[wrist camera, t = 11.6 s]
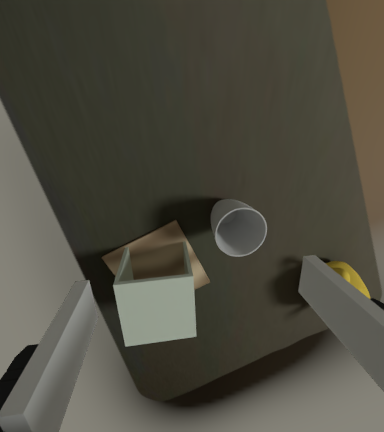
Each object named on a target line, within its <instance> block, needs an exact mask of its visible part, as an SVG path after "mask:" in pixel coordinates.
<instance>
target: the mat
mask: <svg viewBox="0 0 384 432" xmlns="http://www.w3.org/2000/svg"><path fill="white" fill-rule="evenodd" d="M184 241H186V245H187V249H188V254H189V258H190V263H191V268H192V272H193V279H194V290H195V289H197V288H199V287H201V286H203V285H205V284H207V283H209V282H210V280H209V278H208V277H207V275H206V273H205V271H204V269H203V268H202V266H201V264H200V262H199V260H198V259H197V257H196V255H195V253H194V251H193V250H192V248H191V246H190V244H189V242H188V240H187V239H186V237H185V235H184V233H183V231H182V230H181V228H180V226H179V224H178V222H177V221H176V220H174V221H172V222H170V223H168V224H166V225H164V226H162V227H160V228H158V229H156V230H154V231H152V232H150V233H148V234H146V235H144V236H142V237H140V238H138V239H136V240H134V241H132V242H130V243H128V244H126V245H124V246H122V247H120V248H118V249H116V250H114V251H112V252H110V253H108V254H106V255H104V256H102V259H103V260H104V262H105V263H106V264H107V266H108V267H109V268H110V270H111V271H112V272H113V274H114V275H115V276H116V274H117V271H118V268H119V265H120V262H121V259H122V256H123V253H124V249H125V247H129V253H130V260H131V266H132V272H133V278H134V280H139V279H148V278H156V277H165V276H174V275H183V274H185V269H184V254H183V242H184Z"/></svg>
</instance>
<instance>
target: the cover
mask: <svg viewBox="0 0 384 432" xmlns="http://www.w3.org/2000/svg"><path fill="white" fill-rule="evenodd" d="M183 254H184V269H185V274H183V275H174V276H165V277H156V278H148V279H139V280H134V278H133V272H132V266H131V260H130V253H129V247H125V249H124V253H123V256H122V259H121V262H120V265H119V268H118V271H117V274H116V278H115V281H114V284H113V288H114V292H115V297H116V302H117V307H118V312H119V317H120V322H121V327H122V332H123V337H124V341H125V346H133V345H140V344H147V343H154V342H161V341H169V340H176V339H183V338H190V337H196V318H195V298H194V279H193V272H192V268H191V263H190V258H189V254H188V249H187V245H186V241H184V242H183Z"/></svg>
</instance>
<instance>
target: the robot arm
mask: <svg viewBox="0 0 384 432" xmlns="http://www.w3.org/2000/svg"><path fill="white" fill-rule="evenodd" d="M298 292H299V293H300V294H301V296H302V297H303V298H304V299H305V300H306V301H307V303H308V304H309V305H310V306H311V307H312V308H313V310H314V311H315V312H316V313H317V314H318V315H319V317H320V318H321V319H322V320H323V321H324V322H325V324H326V325H327V326H328V327H329V328H330V329H331V331H332V332H333V333H334V334H335V335H336V336H337V338H338V339H339V340H340V341H341V342H342V343H343V345H344V346H345V347H346V348H347V349H348V350H349V352H350V353H351V354H352V355H353V356H354V358H355V359H356V360H357V361H358V362H359V363H360V365H361V366H362V367H363V368H364V369H365V370H366V372H367V373H368V374H369V375H370V376H371V377H372V379H374V381H375V382H376V383H377V384H378V386H379V387H380V388H381V389H382V390H383V391H384V304H383V303H382V302H380V301H378V300H376V299H374V298H372V299H369V298H368V297H366V296H365V295H364V294H363V293H361V292H360V291H359V290H358V289H356V288H355V287H354V286H353V285H351V284H350V283H349V282H348V281H346V280H345V279H344V278H343V277H341V276H340V275H339V274H338V273H336V272H335V271H334V270H333V269H332V268H330V267H329V266H328V265H327V264H325V263H324V262H323V261H322V260H320V259H319V258H318V257H317V256H315V255H311V256H303V263H302V270H301V277H300V283H299V290H298ZM97 319H98V314H97V310H96V306H95V302H94V298H93V294H92V290H91V286H90V281H89V280H84V281H76V282H75V283H74V285H73V287H72V288H71V290H70V291H69V293H68V295H67V297H66V298H65V300H64V302H63V304H62V306H61V307H60V309H59V310H58V312H57V314H56V316H55V317H54V319H53V321H52V323H51V324H50V326H49V328H48V329H47V331H46V333H45V335H44V336H43V338H42V340H41V341H40V343H39V344H36V345H28V346H27V347H25V349H23V350H22V351H21V352H20V353H19V354H18V355H17V356H16V357H15V358H14V360H13V361H12V363H11V364H10V366H9V368H8V369H7V372H6V373H5V374H4V375H3V377H2V378H1V380H0V432H59V430H60V427H61V424H62V421H63V418H64V415H65V412H66V409H67V406H68V404H69V401H70V398H71V395H72V392H73V389H74V386H75V383H76V380H77V377H78V375H79V372H80V369H81V366H82V363H83V360H84V357H85V354H86V351H87V348H88V345H89V342H90V340H91V337H92V334H93V331H94V328H95V325H96V322H97Z"/></svg>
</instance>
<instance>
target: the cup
mask: <svg viewBox="0 0 384 432" xmlns="http://www.w3.org/2000/svg"><path fill="white" fill-rule="evenodd" d="M211 227H212V231H213V234H214V237H215V240H216V243H217V245H218V247H219V248H220V249H221V250H222V251H223V252H224V253H226V254H228V255H231V256H237V257H238V256H245V255H248V254H250V253H252V252H254V251H255V250H257V249H258V248H259V247H260V246H261V244H262V243H263V241H264V239H265V237H266V233H267V225H266V221H265V219H264V217H263V216H262V215H261V214H260V213H259V212H258V211H256V210H254V209H253V208H251V207H250V206H248V205H247V204H245V203H242V202H240V201H237V200H233V199H224V200H220V201H218V202H217V203H216V204H215V205H214V207H213V209H212V212H211Z"/></svg>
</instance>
